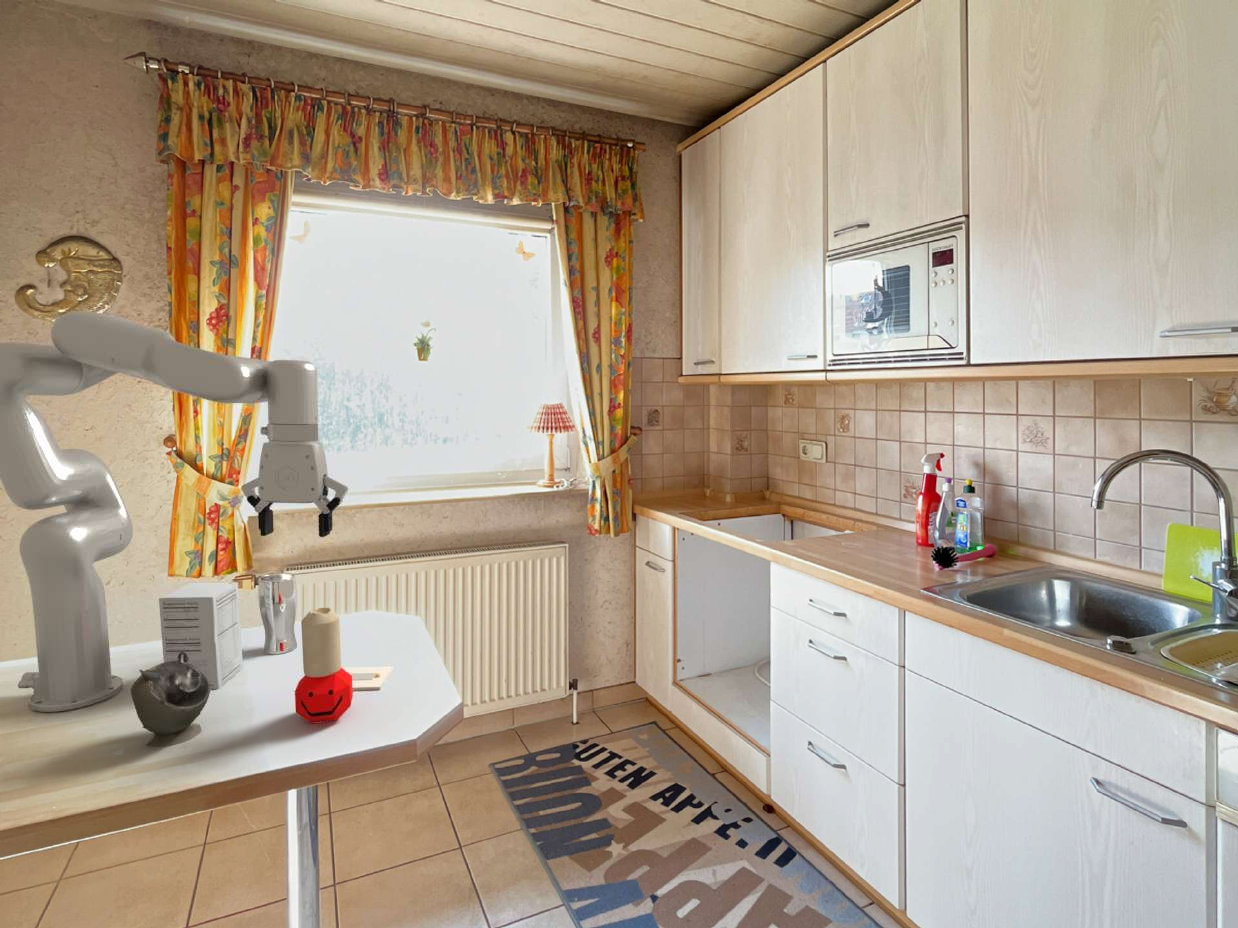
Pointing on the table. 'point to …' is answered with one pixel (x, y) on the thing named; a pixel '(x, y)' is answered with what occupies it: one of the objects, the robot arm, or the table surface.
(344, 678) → the ball
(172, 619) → the supplement box
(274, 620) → the beer glass
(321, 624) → the candle
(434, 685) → the table surface
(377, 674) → the card
